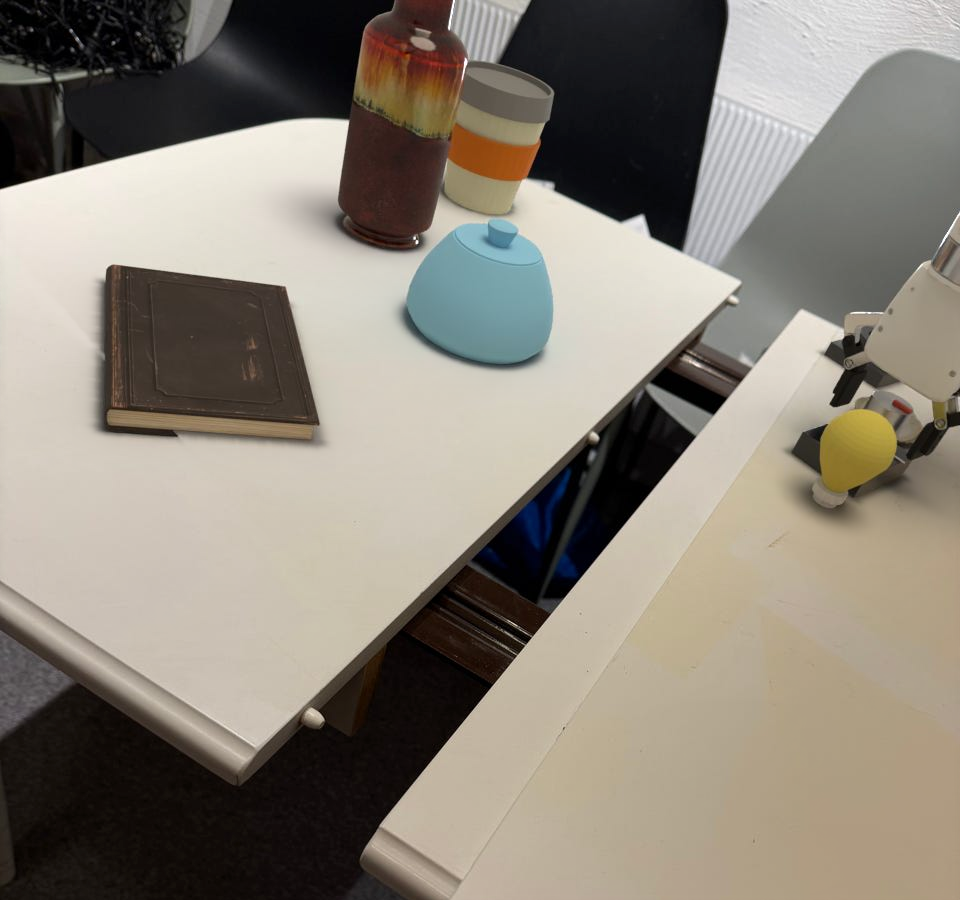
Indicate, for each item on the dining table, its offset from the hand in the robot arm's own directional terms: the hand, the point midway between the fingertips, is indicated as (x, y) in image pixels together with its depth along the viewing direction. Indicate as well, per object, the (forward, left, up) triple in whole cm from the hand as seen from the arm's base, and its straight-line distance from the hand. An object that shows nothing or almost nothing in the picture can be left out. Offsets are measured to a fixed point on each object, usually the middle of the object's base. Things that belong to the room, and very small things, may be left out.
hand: (875, 430), depth 99 cm
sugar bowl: (+26, -33, -4) cm, 42 cm away
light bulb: (+11, +3, -4) cm, 12 cm away
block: (-24, -13, -4) cm, 28 cm away
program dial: (0, 0, -1) cm, 1 cm away
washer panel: (+2, 0, -4) cm, 5 cm away
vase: (+22, -55, -4) cm, 59 cm away
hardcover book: (+56, -35, -4) cm, 66 cm away
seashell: (-11, -3, -4) cm, 12 cm away
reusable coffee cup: (+1, -62, -4) cm, 62 cm away
